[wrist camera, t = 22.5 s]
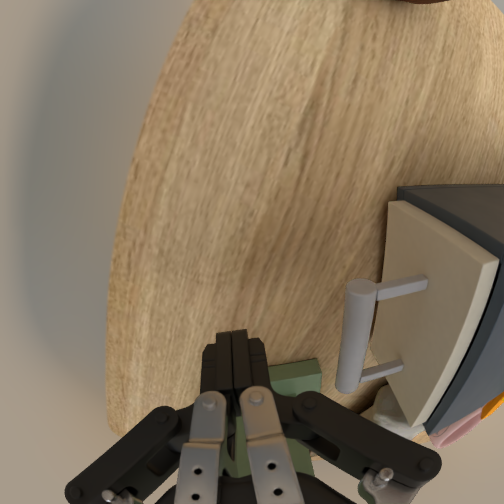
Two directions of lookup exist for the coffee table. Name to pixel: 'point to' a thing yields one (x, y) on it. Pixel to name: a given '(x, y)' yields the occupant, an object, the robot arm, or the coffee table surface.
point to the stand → (288, 384)
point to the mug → (456, 429)
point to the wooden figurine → (423, 1)
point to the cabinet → (500, 307)
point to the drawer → (416, 311)
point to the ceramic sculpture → (389, 415)
